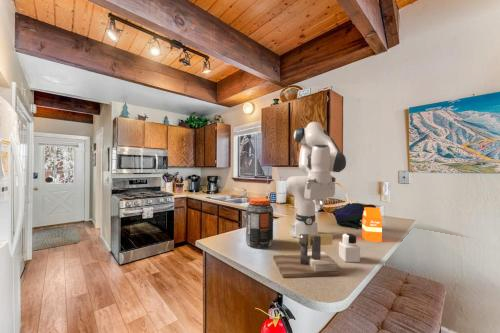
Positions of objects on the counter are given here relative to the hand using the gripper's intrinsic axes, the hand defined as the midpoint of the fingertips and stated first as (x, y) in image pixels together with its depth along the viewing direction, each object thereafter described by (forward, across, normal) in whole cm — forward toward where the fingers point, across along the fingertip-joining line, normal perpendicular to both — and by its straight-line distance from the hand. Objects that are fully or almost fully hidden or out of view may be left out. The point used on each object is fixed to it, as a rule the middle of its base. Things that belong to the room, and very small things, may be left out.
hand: (319, 208), depth 101 cm
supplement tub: (+26, -7, +35) cm, 44 cm away
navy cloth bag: (+26, +75, +19) cm, 82 cm away
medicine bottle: (+26, +15, -7) cm, 31 cm away
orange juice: (+26, +55, -2) cm, 61 cm away
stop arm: (+15, -5, -1) cm, 16 cm away
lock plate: (+25, -10, +2) cm, 27 cm away
